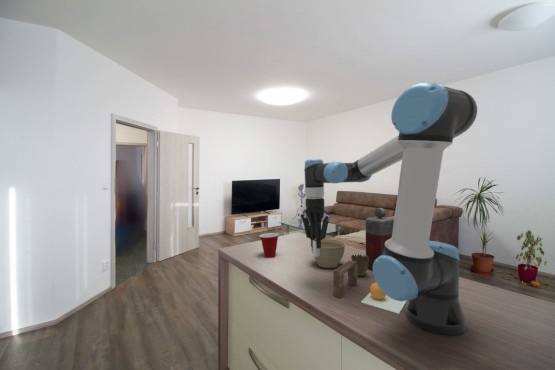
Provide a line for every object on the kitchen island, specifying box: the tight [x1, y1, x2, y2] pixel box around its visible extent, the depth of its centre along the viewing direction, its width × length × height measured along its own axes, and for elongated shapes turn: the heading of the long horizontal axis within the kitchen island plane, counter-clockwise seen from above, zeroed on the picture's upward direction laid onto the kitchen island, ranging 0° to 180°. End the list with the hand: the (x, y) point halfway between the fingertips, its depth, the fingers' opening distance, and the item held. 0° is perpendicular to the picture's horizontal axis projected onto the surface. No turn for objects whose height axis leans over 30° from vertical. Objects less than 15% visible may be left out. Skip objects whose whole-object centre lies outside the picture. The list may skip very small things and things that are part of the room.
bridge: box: [332, 259, 358, 299], centre depth 96 cm, size 3×14×9 cm, turn 141°
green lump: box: [350, 254, 369, 277], centre depth 110 cm, size 8×7×8 cm
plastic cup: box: [259, 232, 280, 259], centre depth 138 cm, size 11×11×12 cm
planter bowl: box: [311, 238, 346, 269], centre depth 123 cm, size 16×16×11 cm
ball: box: [369, 281, 386, 299], centre depth 89 cm, size 6×6×6 cm
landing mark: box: [360, 292, 408, 315], centre depth 87 cm, size 12×12×1 cm
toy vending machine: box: [365, 207, 394, 272], centre depth 116 cm, size 9×11×28 cm
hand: (316, 255), depth 103 cm, fingers closed
